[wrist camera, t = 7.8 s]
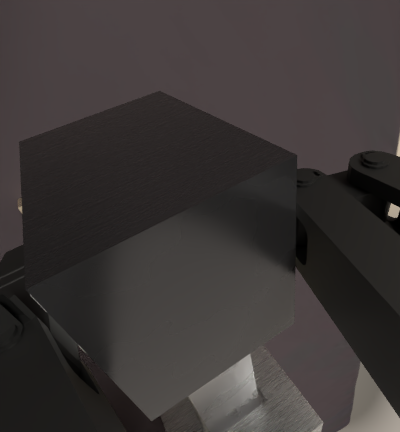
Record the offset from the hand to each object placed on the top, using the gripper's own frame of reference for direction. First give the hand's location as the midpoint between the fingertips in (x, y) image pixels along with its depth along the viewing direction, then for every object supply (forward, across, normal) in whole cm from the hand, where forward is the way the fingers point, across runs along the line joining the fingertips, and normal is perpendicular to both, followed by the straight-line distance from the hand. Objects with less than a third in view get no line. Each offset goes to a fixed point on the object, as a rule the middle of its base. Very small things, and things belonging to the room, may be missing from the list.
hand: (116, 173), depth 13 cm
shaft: (-1, 0, -12) cm, 12 cm away
